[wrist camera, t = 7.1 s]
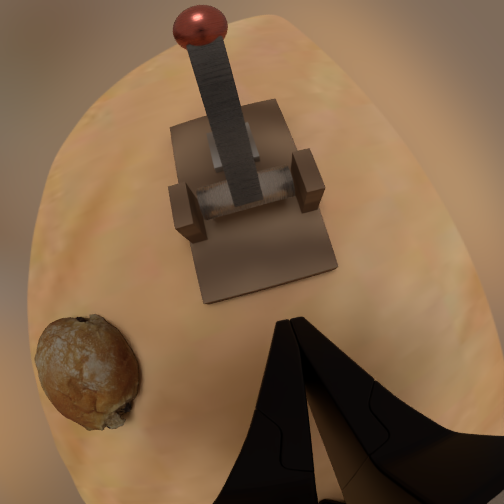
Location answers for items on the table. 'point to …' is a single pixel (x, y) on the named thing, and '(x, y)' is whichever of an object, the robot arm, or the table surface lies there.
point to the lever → (226, 120)
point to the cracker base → (250, 211)
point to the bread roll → (87, 371)
